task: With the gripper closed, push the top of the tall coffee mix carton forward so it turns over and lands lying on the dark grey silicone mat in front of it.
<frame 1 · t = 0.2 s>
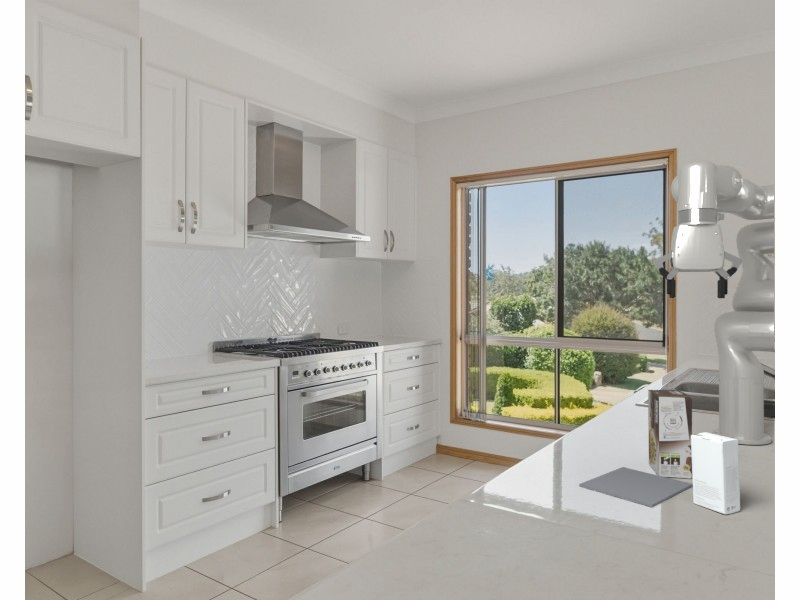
hand: (696, 298, 123), 35 cm above the countertop, tool pointing down, fingers open, 9 cm apart
coffee box: (669, 472, 115), on the countertop
mat: (635, 486, 106), on the countertop
skincare box: (715, 508, 96), on the countertop
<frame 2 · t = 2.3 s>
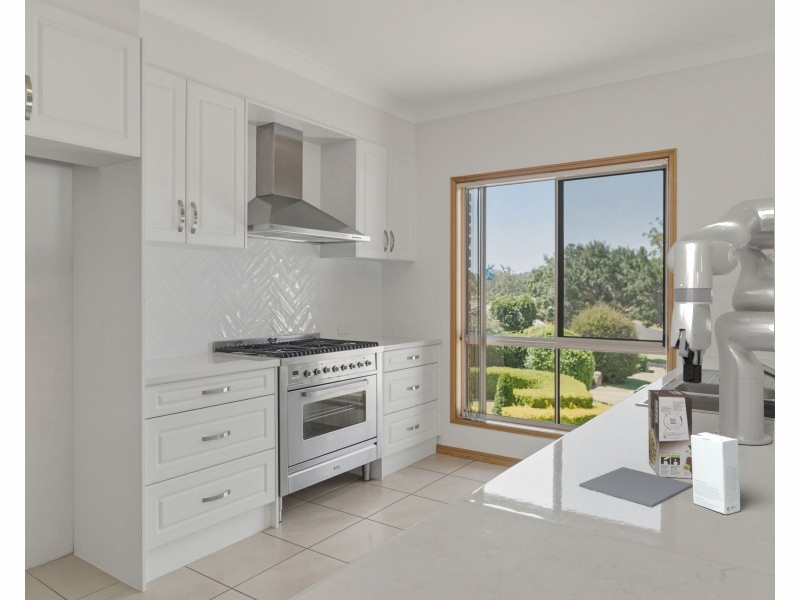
hand: (692, 382, 122), 17 cm above the countertop, tool pointing down, fingers closed
nothing on the countertop moved.
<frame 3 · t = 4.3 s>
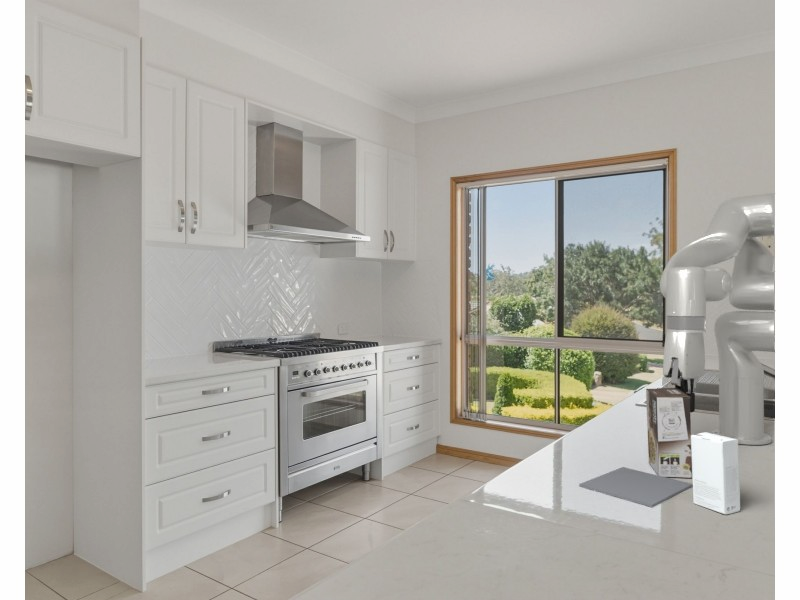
hand: (685, 411, 120), 11 cm above the countertop, tool pointing down, fingers closed
coffee box: (669, 470, 115), on the countertop, touching gripper
everything else where it was.
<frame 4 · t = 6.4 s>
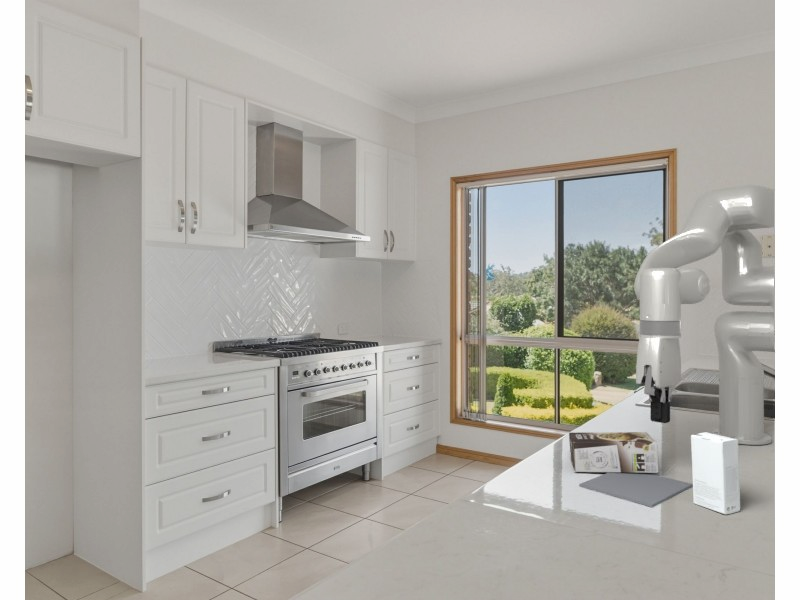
hand: (660, 421, 113), 11 cm above the countertop, tool pointing down, fingers closed
coffee box: (653, 451, 116), point 4 cm above the countertop, touching mat
everything else where it was.
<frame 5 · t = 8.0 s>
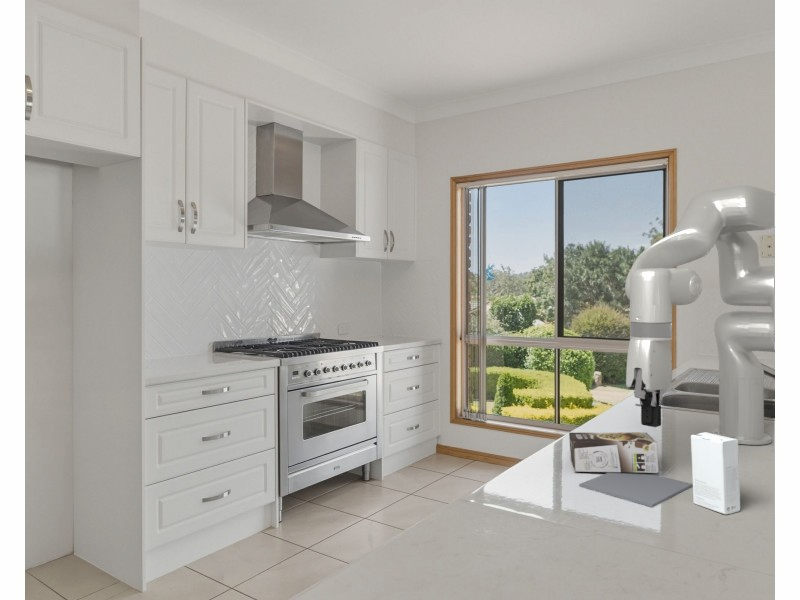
hand: (651, 425, 110), 11 cm above the countertop, tool pointing down, fingers closed
nothing on the countertop moved.
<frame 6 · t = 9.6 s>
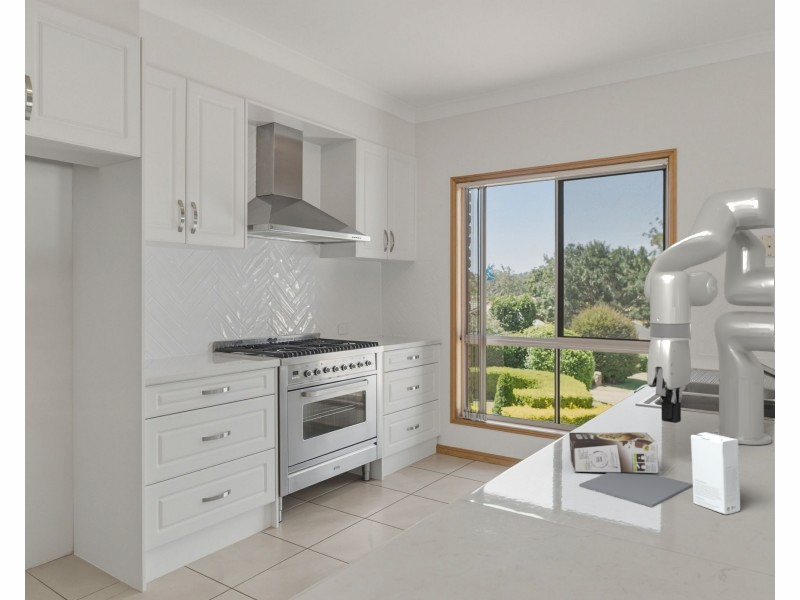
hand: (671, 421, 116), 10 cm above the countertop, tool pointing down, fingers closed
nothing on the countertop moved.
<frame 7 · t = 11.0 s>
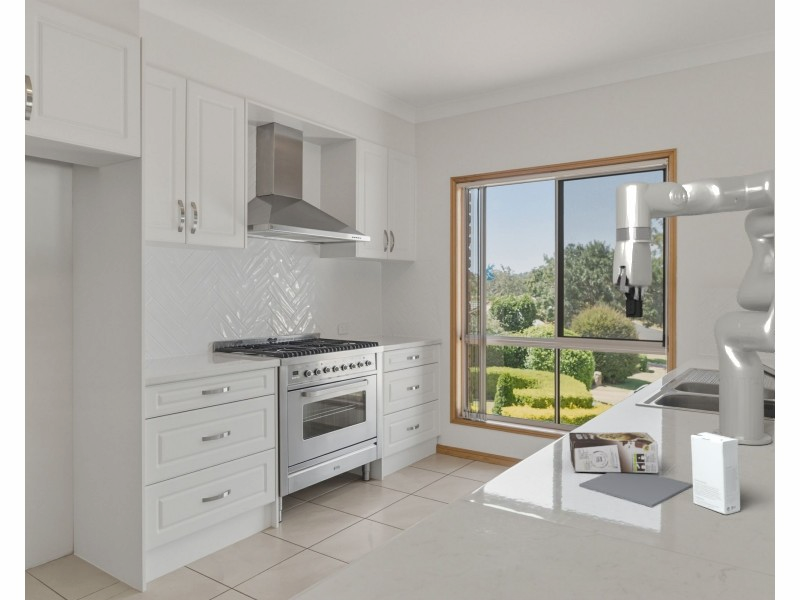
hand: (634, 317, 129), 31 cm above the countertop, tool pointing down, fingers closed
nothing on the countertop moved.
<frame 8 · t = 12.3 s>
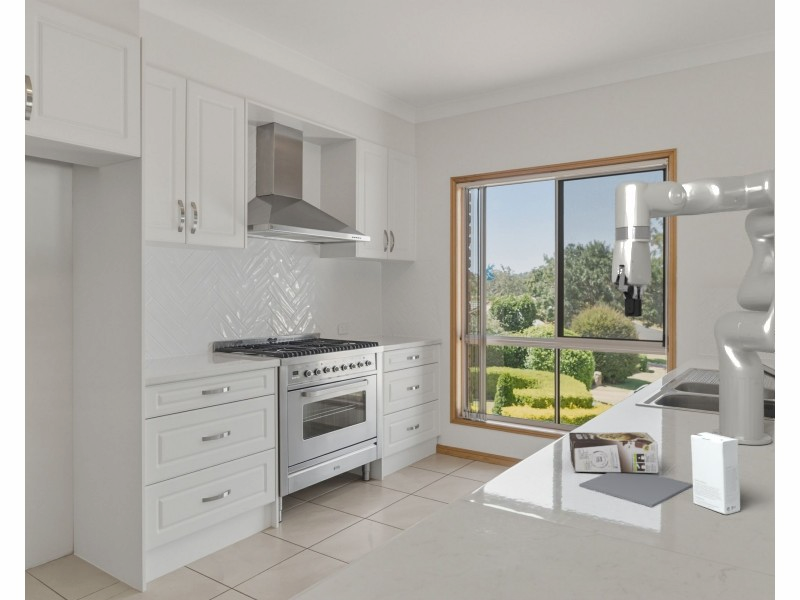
hand: (633, 316, 129), 31 cm above the countertop, tool pointing down, fingers closed
nothing on the countertop moved.
at the end: coffee box tilted 92°; coffee box inside the target area (9.0 cm from its centre), point 3.9 cm above the countertop; the gripper is holding nothing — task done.
